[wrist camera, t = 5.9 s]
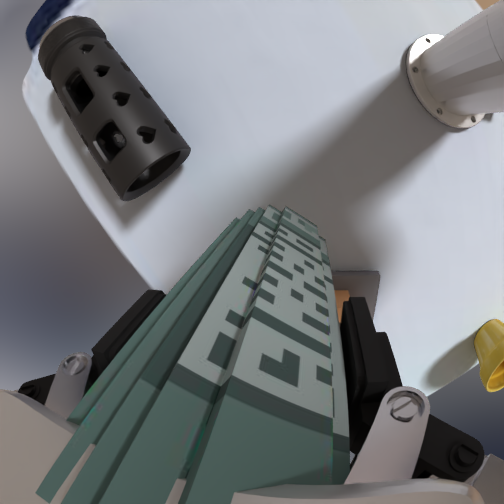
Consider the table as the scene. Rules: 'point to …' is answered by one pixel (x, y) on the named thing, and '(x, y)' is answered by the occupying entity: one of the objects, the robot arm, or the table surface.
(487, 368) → the plant pot
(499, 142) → the table surface
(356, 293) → the socket block
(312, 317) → the can
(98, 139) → the muzzle brake
